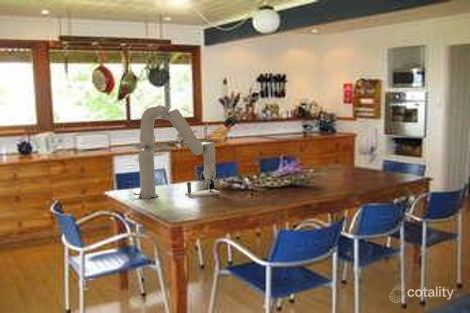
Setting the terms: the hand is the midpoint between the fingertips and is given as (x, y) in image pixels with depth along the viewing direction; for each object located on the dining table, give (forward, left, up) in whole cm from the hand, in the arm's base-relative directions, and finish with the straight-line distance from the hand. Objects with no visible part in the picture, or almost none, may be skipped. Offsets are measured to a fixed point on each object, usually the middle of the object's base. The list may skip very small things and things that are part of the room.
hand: (210, 188), depth 326 cm
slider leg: (0, 0, -1) cm, 1 cm away
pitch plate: (-6, 0, -3) cm, 7 cm away
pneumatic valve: (+8, +22, -3) cm, 24 cm away
